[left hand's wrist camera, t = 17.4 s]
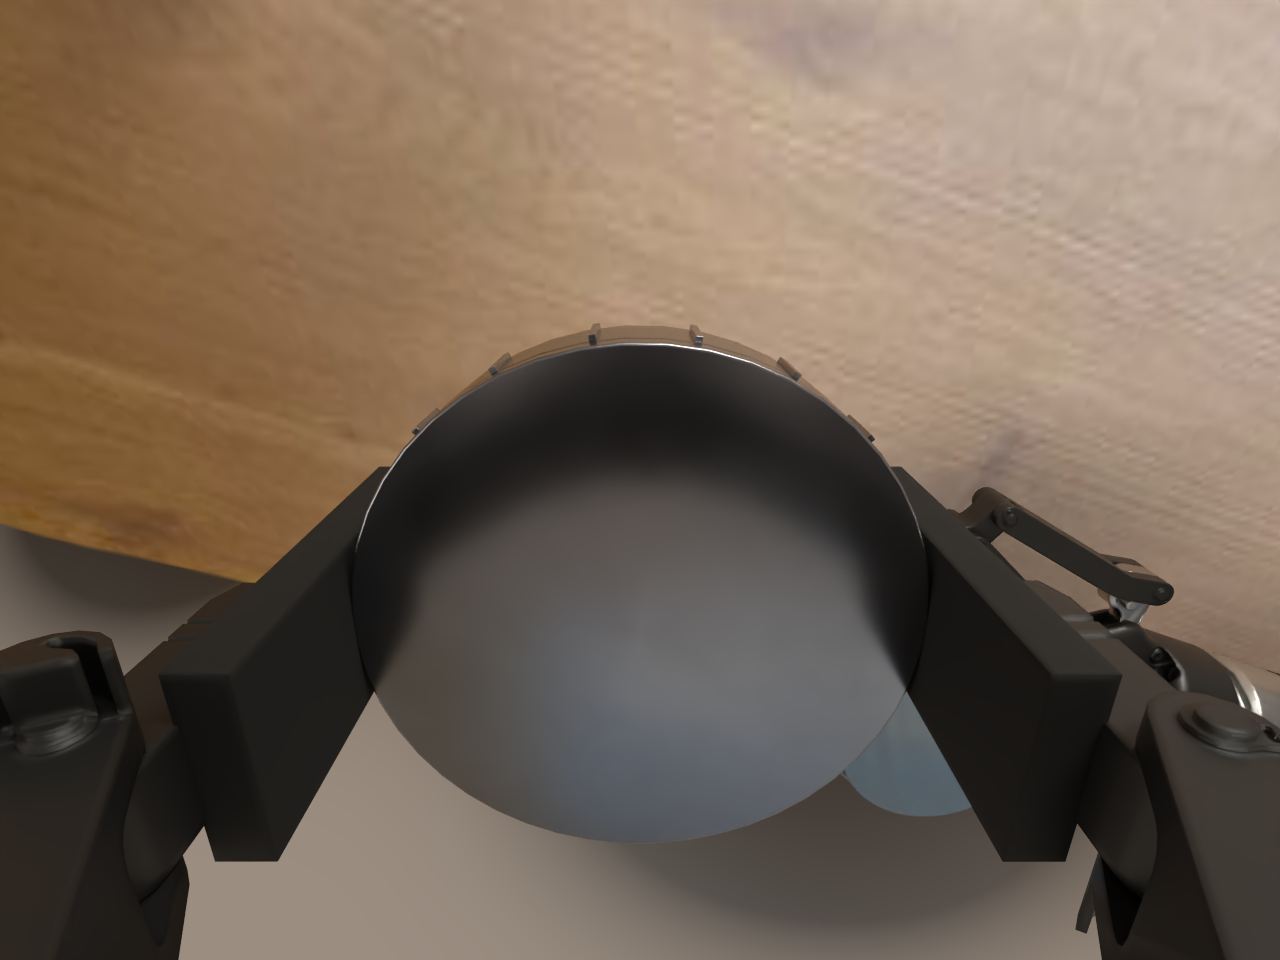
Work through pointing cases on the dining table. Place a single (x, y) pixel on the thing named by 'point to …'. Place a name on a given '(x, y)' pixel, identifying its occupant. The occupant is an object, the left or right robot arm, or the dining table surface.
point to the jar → (906, 769)
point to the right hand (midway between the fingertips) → (778, 588)
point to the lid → (640, 587)
